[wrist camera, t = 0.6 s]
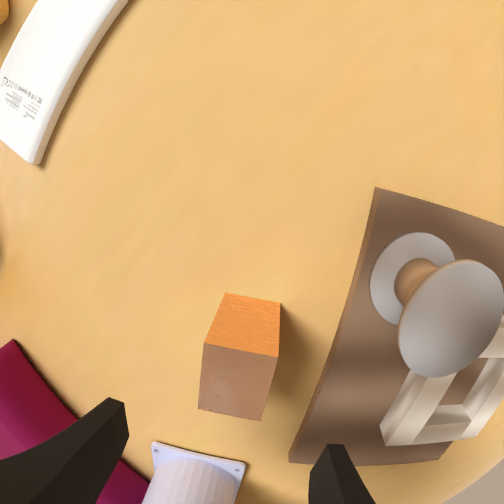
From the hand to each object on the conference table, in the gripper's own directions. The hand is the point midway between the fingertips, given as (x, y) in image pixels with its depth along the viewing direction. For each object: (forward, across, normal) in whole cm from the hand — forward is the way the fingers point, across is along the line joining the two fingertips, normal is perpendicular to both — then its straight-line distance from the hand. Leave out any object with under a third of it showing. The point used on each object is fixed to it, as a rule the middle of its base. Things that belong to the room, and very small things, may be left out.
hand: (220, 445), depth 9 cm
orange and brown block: (+8, 0, 0) cm, 8 cm away
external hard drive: (+9, +16, -15) cm, 24 cm away
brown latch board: (+8, -12, +1) cm, 15 cm away
